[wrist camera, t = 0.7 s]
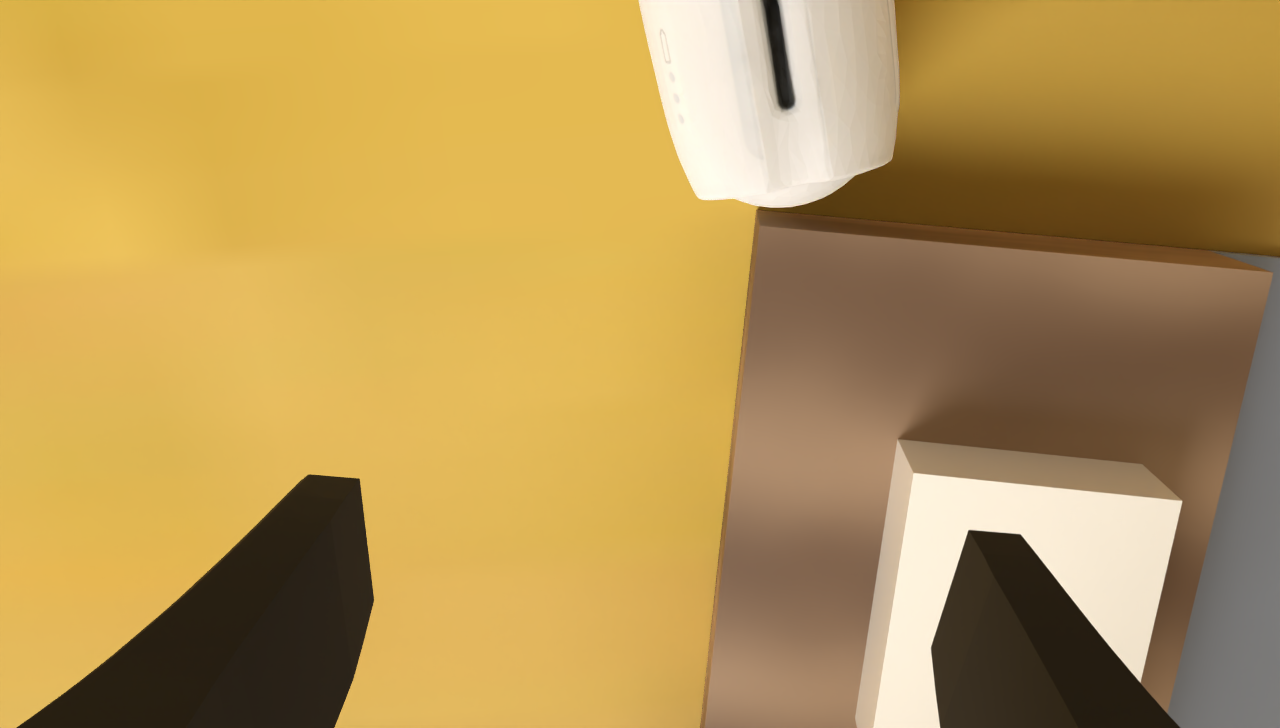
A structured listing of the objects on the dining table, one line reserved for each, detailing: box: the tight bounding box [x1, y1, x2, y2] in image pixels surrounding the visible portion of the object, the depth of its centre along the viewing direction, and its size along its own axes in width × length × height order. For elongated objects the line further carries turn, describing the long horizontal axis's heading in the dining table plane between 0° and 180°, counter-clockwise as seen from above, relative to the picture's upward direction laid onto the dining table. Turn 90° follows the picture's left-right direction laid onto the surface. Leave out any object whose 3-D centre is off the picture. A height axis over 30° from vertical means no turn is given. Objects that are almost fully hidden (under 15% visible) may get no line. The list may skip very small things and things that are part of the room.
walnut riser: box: [700, 210, 1273, 728], centre depth 29 cm, size 18×12×4 cm, turn 175°
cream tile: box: [855, 439, 1182, 728], centre depth 26 cm, size 8×6×2 cm
